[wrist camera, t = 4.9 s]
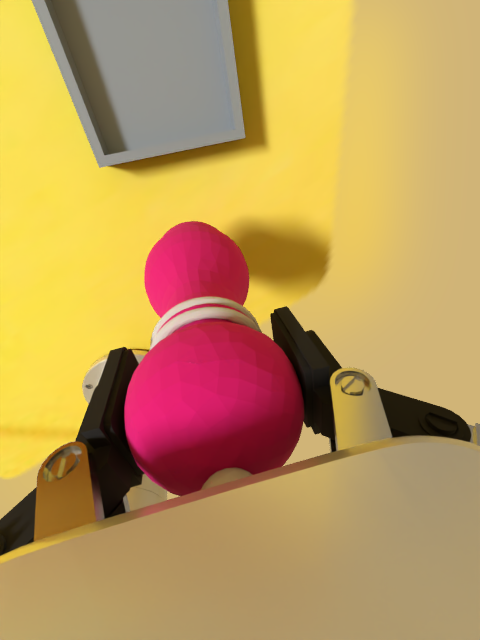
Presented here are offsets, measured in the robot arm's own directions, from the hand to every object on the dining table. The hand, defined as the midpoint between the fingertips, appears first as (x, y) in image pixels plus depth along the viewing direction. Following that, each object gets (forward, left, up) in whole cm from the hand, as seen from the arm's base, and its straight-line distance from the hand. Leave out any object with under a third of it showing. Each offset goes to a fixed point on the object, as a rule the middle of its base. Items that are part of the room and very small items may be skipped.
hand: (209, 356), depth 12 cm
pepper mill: (0, 0, -13) cm, 13 cm away
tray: (+13, 0, -19) cm, 23 cm away
